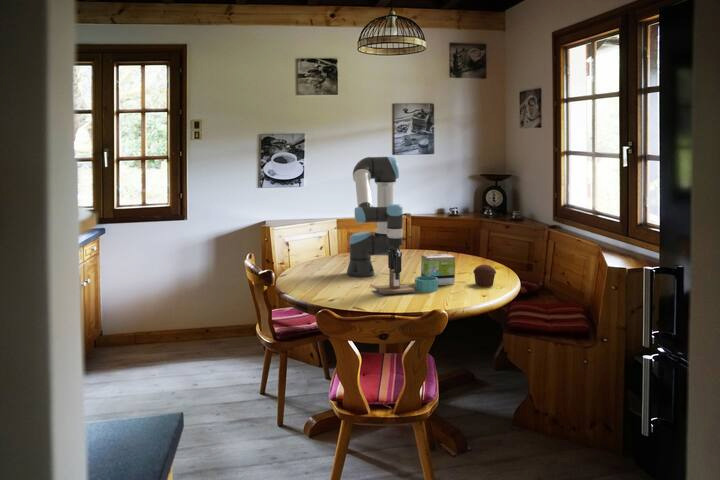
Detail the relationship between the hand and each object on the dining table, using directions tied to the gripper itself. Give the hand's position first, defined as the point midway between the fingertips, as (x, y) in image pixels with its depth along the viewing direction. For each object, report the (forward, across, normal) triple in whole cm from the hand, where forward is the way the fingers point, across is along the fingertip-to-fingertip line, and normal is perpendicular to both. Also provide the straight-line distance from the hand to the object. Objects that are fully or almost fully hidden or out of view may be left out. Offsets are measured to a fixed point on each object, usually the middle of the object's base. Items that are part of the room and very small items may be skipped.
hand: (394, 284), depth 292 cm
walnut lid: (+3, 0, 0) cm, 3 cm away
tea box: (+5, -12, +28) cm, 31 cm away
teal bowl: (+4, 0, +16) cm, 17 cm away
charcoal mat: (+4, 0, 0) cm, 4 cm away
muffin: (+4, -2, +49) cm, 50 cm away
